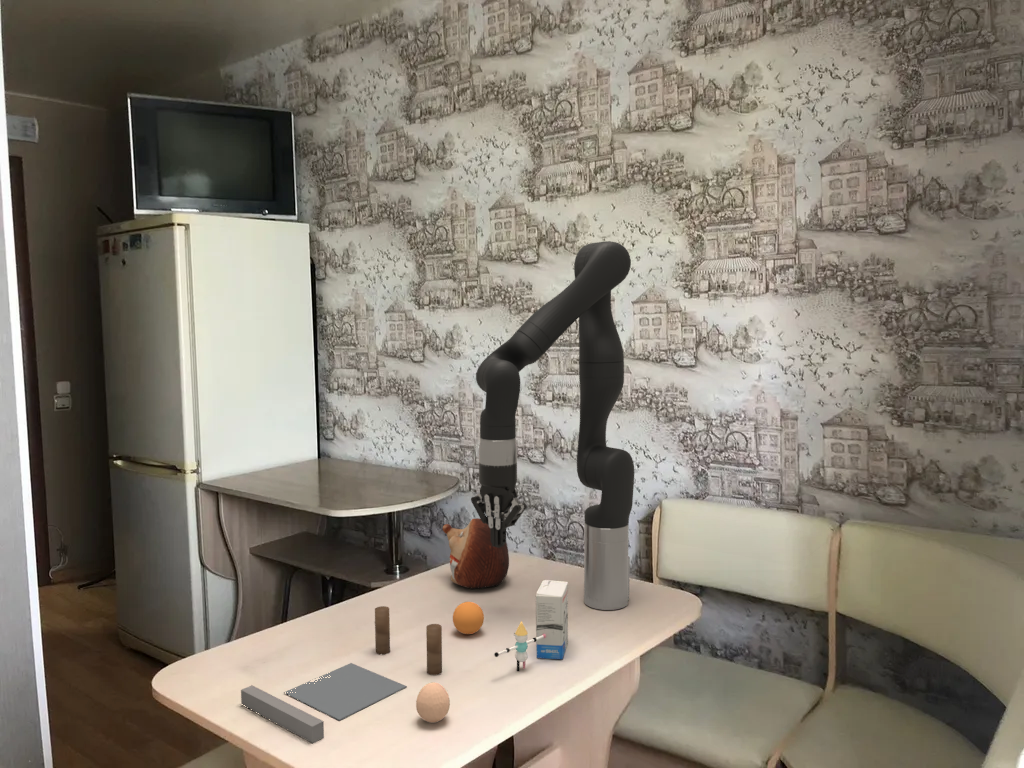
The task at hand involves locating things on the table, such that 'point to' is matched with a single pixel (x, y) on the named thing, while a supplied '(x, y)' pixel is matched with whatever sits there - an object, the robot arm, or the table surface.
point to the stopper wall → (283, 714)
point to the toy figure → (520, 645)
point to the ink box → (552, 619)
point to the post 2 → (434, 649)
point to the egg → (432, 702)
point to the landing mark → (345, 691)
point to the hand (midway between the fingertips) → (498, 546)
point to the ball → (468, 618)
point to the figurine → (476, 556)
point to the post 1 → (382, 630)
